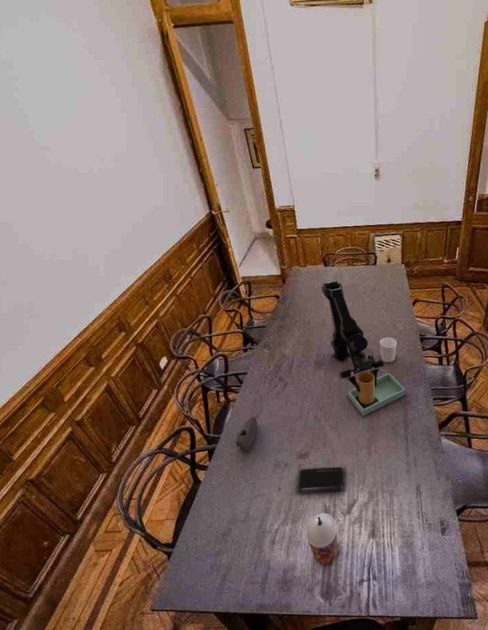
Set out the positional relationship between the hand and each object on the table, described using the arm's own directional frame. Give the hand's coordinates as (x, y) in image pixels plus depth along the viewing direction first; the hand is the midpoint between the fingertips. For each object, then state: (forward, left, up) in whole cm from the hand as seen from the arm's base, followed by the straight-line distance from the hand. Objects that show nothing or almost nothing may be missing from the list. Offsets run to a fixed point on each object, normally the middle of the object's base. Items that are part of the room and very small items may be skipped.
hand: (367, 389), depth 140 cm
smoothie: (+24, -52, -8) cm, 58 cm away
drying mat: (-1, +1, -8) cm, 8 cm away
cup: (-1, +1, -6) cm, 7 cm away
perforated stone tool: (-26, -42, -8) cm, 50 cm away
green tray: (+1, +5, -8) cm, 10 cm away
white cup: (-9, +29, -8) cm, 31 cm away
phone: (+8, -37, -8) cm, 39 cm away
